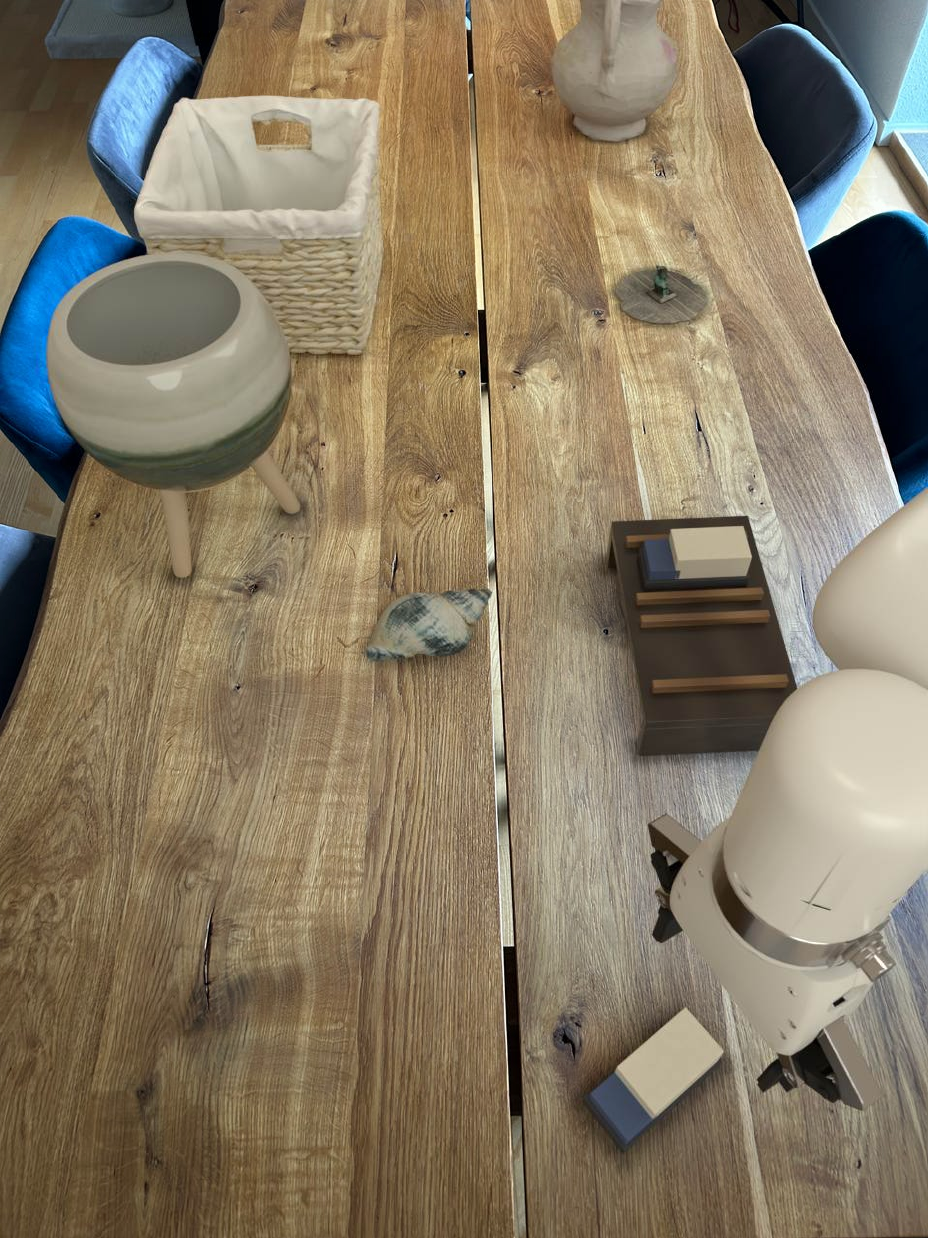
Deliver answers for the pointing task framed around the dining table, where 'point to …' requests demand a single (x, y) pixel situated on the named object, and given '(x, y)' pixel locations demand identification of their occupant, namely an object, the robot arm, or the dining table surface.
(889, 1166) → the dining table surface
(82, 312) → the planter
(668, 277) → the sculpture
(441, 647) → the seashell
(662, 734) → the shoe rack
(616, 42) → the ceramic pitcher
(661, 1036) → the blue cream block
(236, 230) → the basket
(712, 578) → the two-tone stepped block
